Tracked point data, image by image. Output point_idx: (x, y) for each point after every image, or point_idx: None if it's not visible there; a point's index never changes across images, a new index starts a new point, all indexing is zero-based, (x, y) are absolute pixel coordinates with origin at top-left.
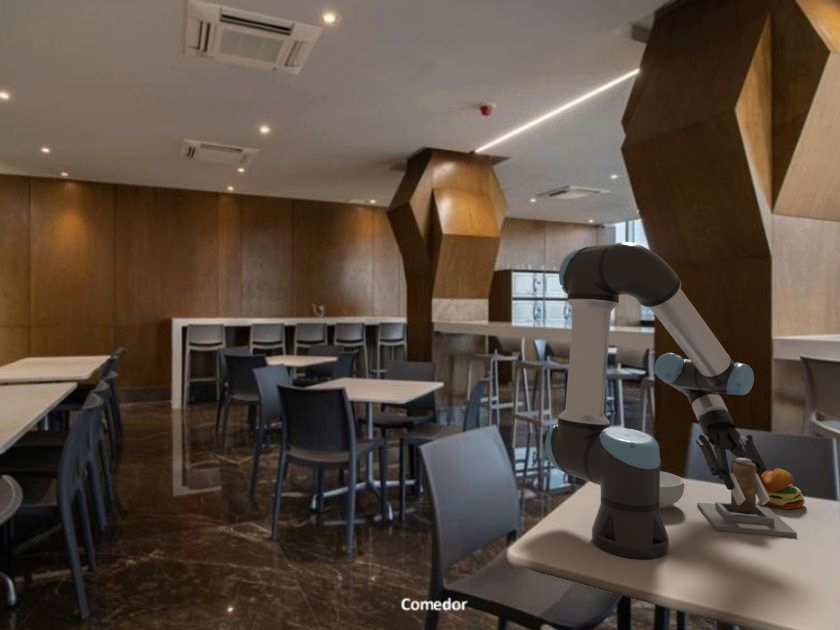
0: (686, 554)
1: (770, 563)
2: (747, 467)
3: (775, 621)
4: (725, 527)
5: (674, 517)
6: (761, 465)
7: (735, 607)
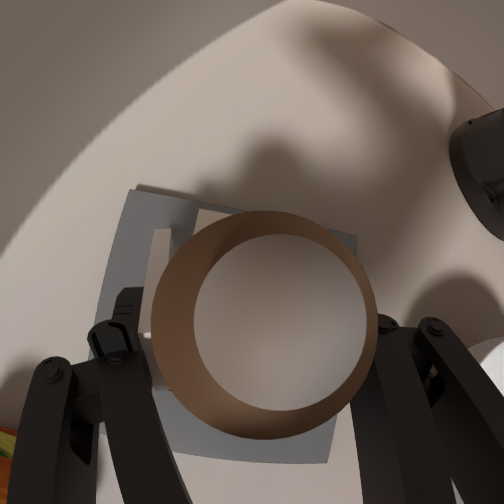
0: (426, 131)
1: (296, 80)
2: (283, 217)
3: (350, 9)
4: (332, 230)
5: None
6: (54, 396)
7: (381, 29)
